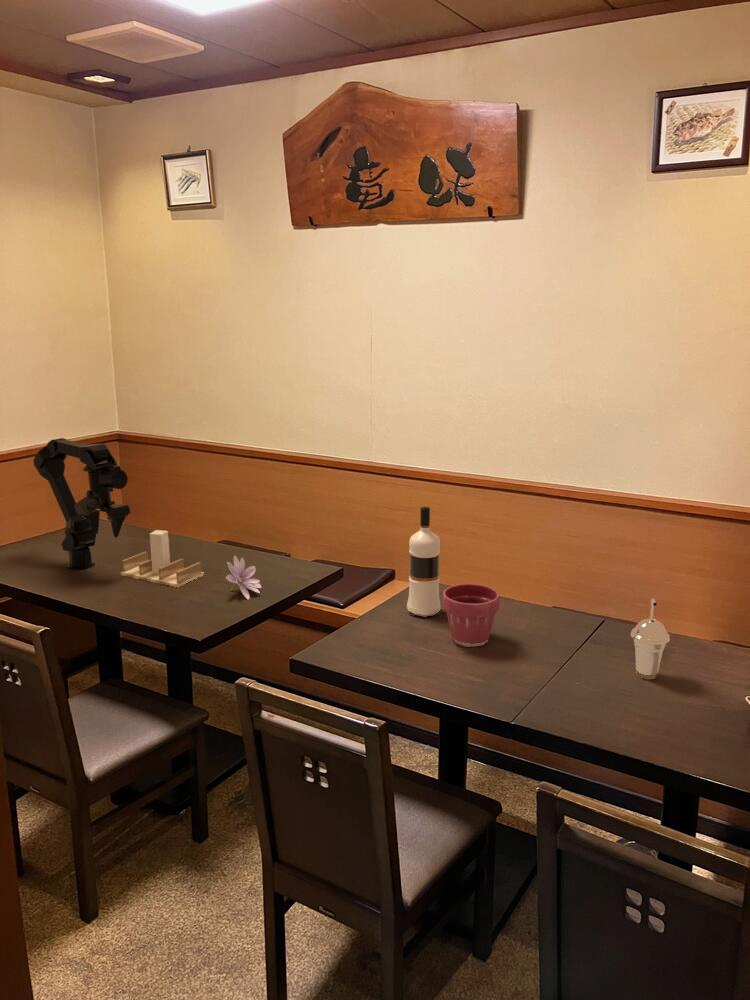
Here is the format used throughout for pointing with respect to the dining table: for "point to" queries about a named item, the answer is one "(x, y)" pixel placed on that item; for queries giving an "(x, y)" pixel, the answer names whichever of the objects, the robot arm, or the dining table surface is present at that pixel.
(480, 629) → the plant pot
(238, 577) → the water lily
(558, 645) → the dining table surface
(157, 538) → the clay bar
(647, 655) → the cup with straw
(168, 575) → the drying rack
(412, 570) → the vodka
